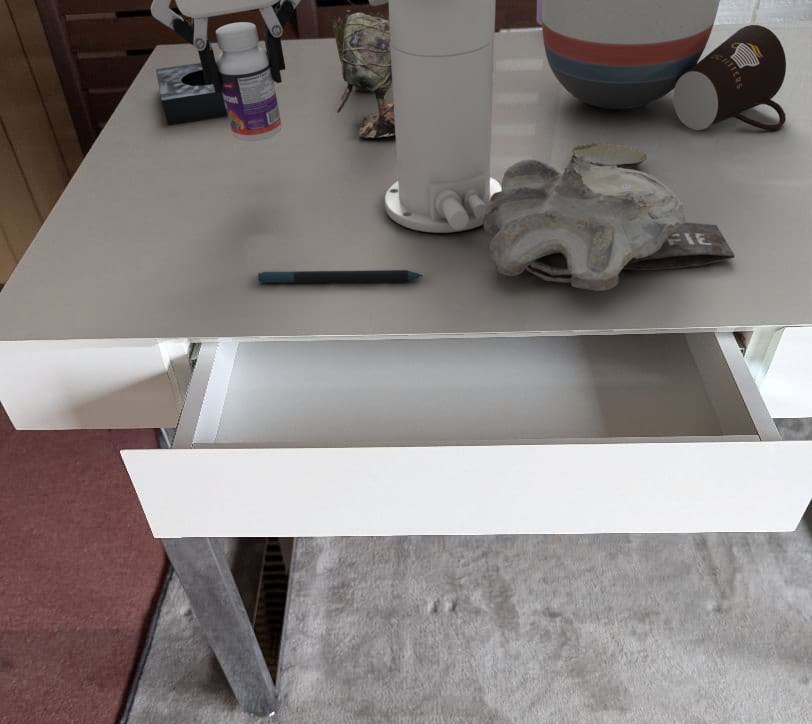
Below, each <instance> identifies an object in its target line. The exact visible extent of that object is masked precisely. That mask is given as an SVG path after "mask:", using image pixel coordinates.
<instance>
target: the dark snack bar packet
mask: <svg viewBox="0 0 812 724" xmlns="http://www.w3.org/2000/svg"><path fill="white" fill-rule="evenodd" d="M734 258H735V253H734V252H733V250H732V249H731V247H730V245H729V244H728V242H727V240H726V238H725V237H724V235H723V233H722V232H721V230H720V228H719V226H718V225H717V224H709V223H699V222H698V223H697V222H696V223H695V222H685V223H684V225H683V226H682V227H681V228H680V229H679V230H678V231H677V232H675V233H674V234H673V235H672V236H670V237H669V238H668V239H667V240H666V241H665V242H664V243H663V245H662V247H661V248H660V249H659V250H658V251H657V252H655V253H654V254H653V255H651V256H649V255H648V256H647V257H643V258H632V259H631V260H630V261H628V263H627V264H626V265H625V266H624V267H623V268H622V270H631V271H656V270H672V269H673V270H674V269H683V268H691V267H700V266H706V265H709V264H714V263H717V262H722V261H726V260H730V259H731V260H732V259H734ZM525 270H526V271H527V272H529V273H531V274H533V275H534V276H536V277H537V278H539V279H541V280H543V281H546V282H556V283H566V284H567V283H568V284H571V282H570V281H571V277H572V274H571V273H570V272H569V271H568V267H553V266H551V265H548V264H545V263H542V262H539V261H537V260H536V259H535V260H534V261H533V262H531V263H530V264H529V265H528V266H527V267H526V268H525Z"/></svg>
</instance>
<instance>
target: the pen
mask: <svg viewBox="0 0 812 724" xmlns="http://www.w3.org/2000/svg"><path fill="white" fill-rule="evenodd" d="M423 276H424V275H423V274H420V273H418V272H414V271H411V270H408V269H385V270H379V269H377V270H303V271H302V270H301V271H295V270H294V271H262V272H259V273H258V274H257V279H258V280H257V281H258V282H259V283H263V284H283V283H284V284H289V283H290V284H299V283H301V284H302V283H305V284H306V283H307V284H308V283H385V282H387V283H389V282H391V283H393V282H394V283H395V282H397V283H398V282H409V281H410V282H411V281H413V280H417V279H420V278H421V277H423Z"/></svg>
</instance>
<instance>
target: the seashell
mask: <svg viewBox="0 0 812 724" xmlns="http://www.w3.org/2000/svg"><path fill="white" fill-rule="evenodd" d="M571 152H572V155H578V156H586V157H587V158H588V160H589V161H590V164H591V165H595V166H600V167H601V166H615V165H616V167H617V168H623V169H633V168H634V167H636V166H638V165H640V164H642V163H644V162H645V161H646V160H647V155H646V153H644V152H643V151H641V150H639V149H637V148H634V147H632V146H628V145H622V144H620V143H619V144H618V143H617V144H615V143H610V144H609V143H607V142H606V143H586V144H580V145H575V146H573V147H572V149H571Z"/></svg>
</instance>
